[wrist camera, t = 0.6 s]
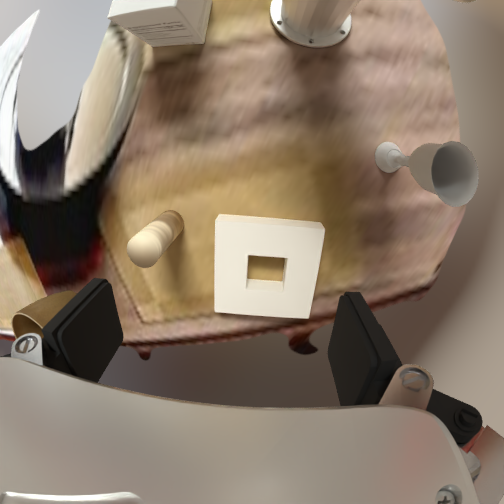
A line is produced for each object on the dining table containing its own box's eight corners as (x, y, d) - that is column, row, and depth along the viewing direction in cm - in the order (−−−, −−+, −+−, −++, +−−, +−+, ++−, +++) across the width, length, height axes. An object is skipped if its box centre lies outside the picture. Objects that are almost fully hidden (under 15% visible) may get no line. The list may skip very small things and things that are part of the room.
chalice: (413, 149, 37) (485, 163, 20) (399, 185, 39) (465, 217, 23) (376, 128, 36) (442, 128, 20) (362, 166, 39) (421, 188, 22)
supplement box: (160, 4, 29) (122, -34, 15) (213, 1, 29) (191, -47, 15) (150, 48, 32) (104, 18, 18) (204, 45, 32) (175, 6, 18)
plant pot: (111, 315, 52) (76, 365, 38) (81, 336, 56) (50, 379, 42) (68, 262, 48) (21, 301, 33) (43, 291, 52) (4, 328, 37)
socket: (219, 214, 43) (215, 220, 40) (320, 222, 43) (325, 229, 39) (217, 300, 49) (214, 311, 46) (306, 307, 49) (308, 318, 46)
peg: (158, 209, 43) (125, 234, 32) (183, 210, 43) (156, 236, 32) (159, 235, 45) (129, 266, 34) (184, 236, 45) (159, 269, 34)
